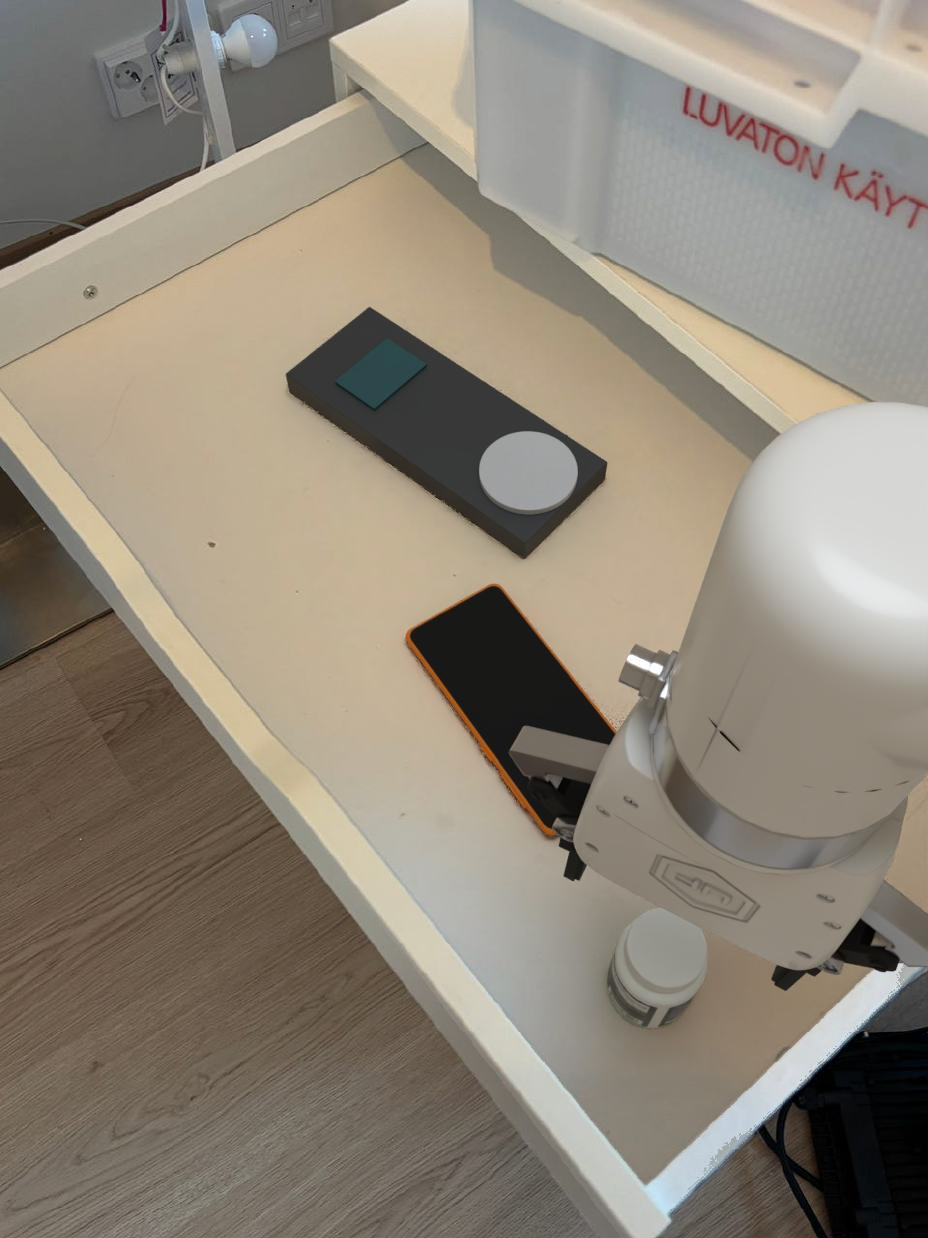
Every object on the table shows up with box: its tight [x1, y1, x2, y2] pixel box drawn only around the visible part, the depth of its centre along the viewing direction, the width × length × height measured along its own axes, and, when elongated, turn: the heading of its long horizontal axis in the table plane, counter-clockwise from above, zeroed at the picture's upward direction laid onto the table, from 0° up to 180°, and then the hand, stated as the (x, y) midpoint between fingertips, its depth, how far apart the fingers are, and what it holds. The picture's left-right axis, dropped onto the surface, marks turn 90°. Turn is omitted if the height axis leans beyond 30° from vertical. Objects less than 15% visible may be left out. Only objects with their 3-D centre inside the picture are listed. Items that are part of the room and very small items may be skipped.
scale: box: [285, 306, 609, 559], centre depth 82 cm, size 23×9×3 cm, turn 49°
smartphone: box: [405, 583, 617, 837], centre depth 72 cm, size 8×17×1 cm, turn 33°
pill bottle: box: [606, 906, 708, 1029], centre depth 60 cm, size 5×5×8 cm
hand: (685, 902), depth 50 cm, fingers open, 9 cm apart
